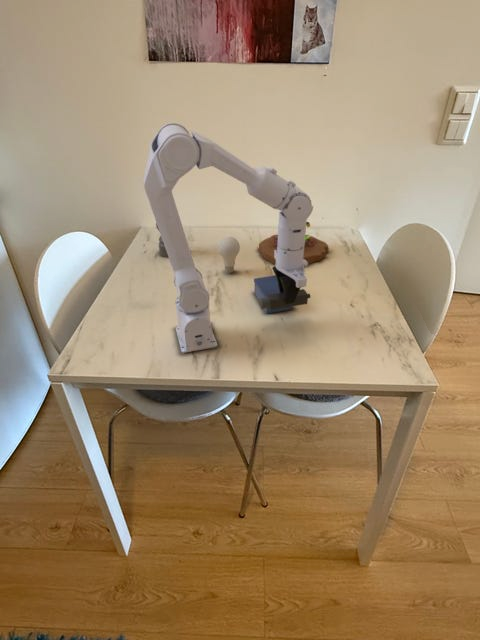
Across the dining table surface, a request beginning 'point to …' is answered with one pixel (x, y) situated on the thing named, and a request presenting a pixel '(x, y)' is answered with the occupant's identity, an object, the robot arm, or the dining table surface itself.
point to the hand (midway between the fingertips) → (287, 299)
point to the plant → (312, 248)
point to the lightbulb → (229, 252)
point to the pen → (282, 300)
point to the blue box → (267, 290)
